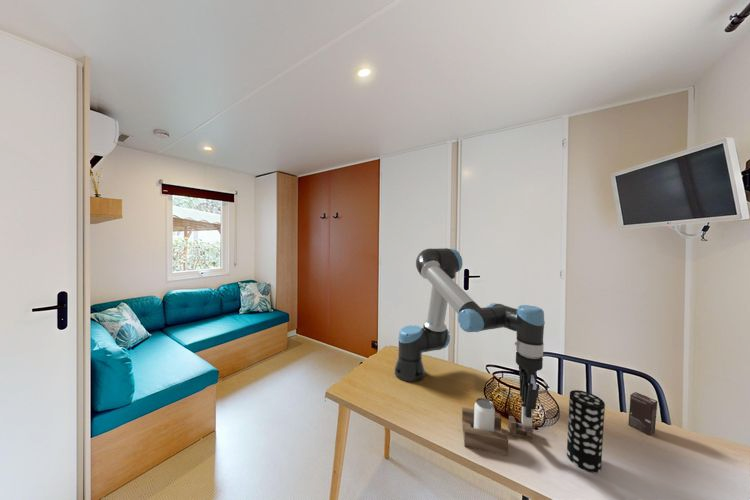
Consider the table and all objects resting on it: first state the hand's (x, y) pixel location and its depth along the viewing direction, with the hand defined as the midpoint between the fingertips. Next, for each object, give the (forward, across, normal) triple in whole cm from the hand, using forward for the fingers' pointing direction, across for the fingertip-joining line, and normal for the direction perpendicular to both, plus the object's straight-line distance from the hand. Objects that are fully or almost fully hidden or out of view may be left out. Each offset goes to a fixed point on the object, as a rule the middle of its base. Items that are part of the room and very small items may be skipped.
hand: (526, 423), depth 84 cm
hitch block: (+8, -1, -8) cm, 11 cm away
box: (+8, -21, +44) cm, 50 cm away
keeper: (+4, -2, 0) cm, 4 cm away
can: (+8, -1, -13) cm, 15 cm away
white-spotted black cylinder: (+8, +1, +16) cm, 18 cm away
